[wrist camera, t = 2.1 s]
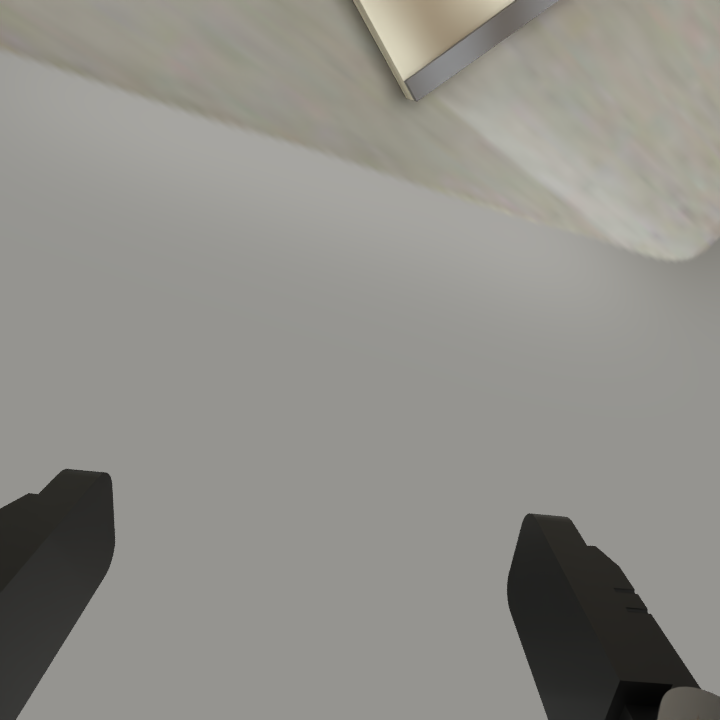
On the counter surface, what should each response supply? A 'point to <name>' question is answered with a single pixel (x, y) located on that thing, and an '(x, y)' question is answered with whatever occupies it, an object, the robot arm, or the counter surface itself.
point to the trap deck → (440, 35)
